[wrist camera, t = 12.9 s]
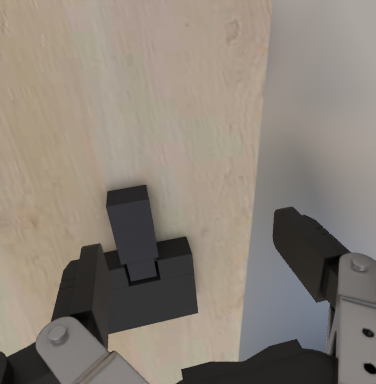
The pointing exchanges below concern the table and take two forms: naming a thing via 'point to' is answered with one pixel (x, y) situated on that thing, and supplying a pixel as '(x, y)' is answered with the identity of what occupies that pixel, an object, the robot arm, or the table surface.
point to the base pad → (152, 288)
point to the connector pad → (133, 230)
